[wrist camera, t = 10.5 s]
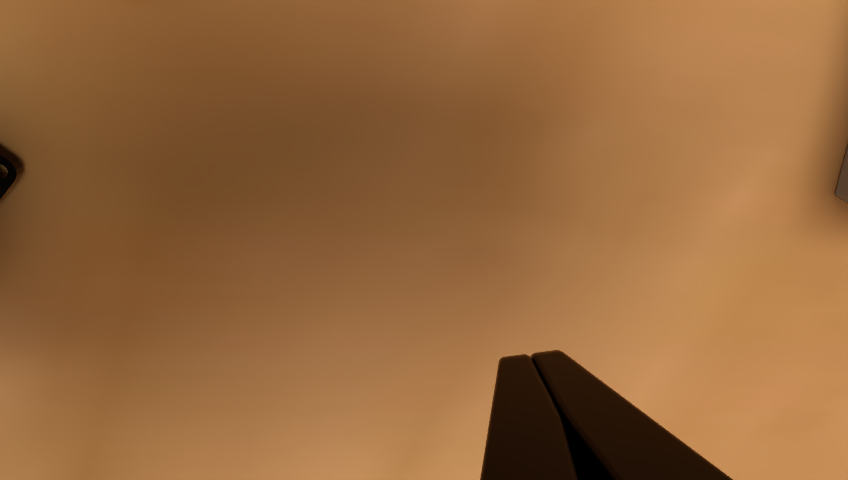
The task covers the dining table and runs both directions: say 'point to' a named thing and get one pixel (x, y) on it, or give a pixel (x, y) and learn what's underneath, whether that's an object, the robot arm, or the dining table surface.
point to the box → (843, 180)
